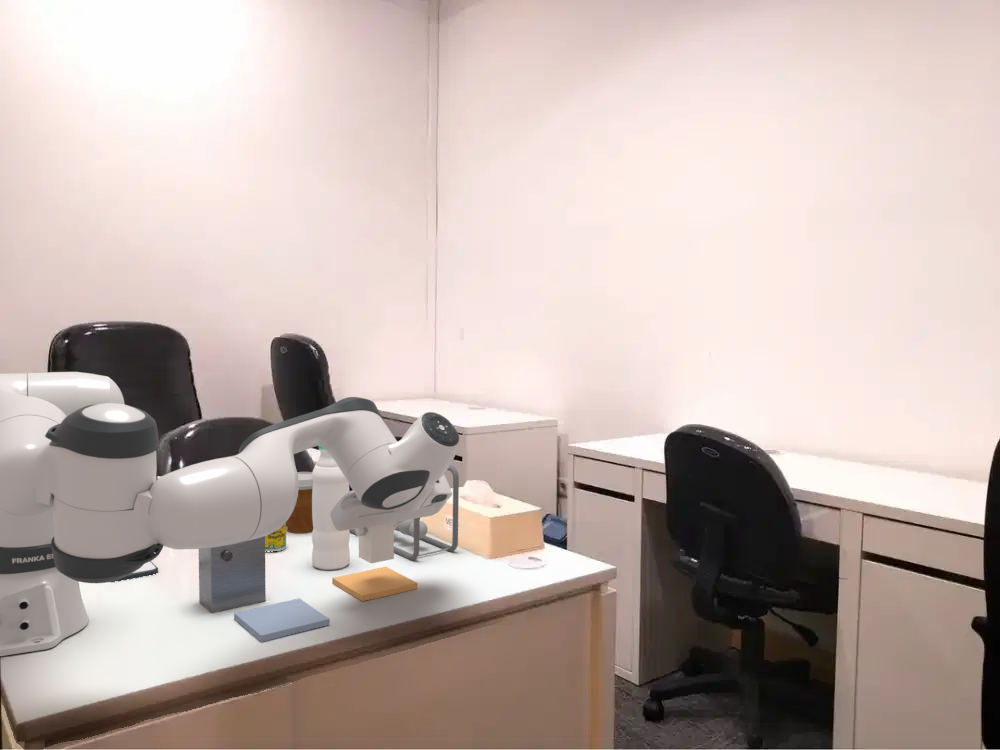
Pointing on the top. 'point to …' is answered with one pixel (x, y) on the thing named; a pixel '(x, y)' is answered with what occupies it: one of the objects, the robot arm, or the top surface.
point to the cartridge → (377, 543)
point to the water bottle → (328, 514)
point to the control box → (232, 575)
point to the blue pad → (280, 619)
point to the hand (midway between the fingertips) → (374, 529)
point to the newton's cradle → (420, 529)
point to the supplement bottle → (276, 540)
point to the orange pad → (374, 583)
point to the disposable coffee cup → (302, 506)
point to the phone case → (142, 571)
